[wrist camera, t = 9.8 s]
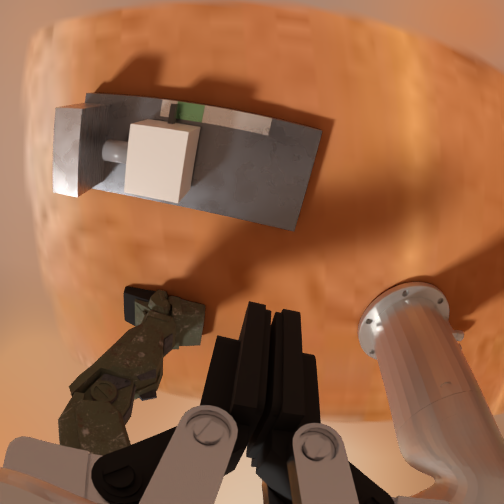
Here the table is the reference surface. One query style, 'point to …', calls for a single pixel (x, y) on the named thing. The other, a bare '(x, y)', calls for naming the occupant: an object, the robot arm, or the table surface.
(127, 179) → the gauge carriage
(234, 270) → the table surface
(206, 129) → the gauge base
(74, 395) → the mechanical leg
